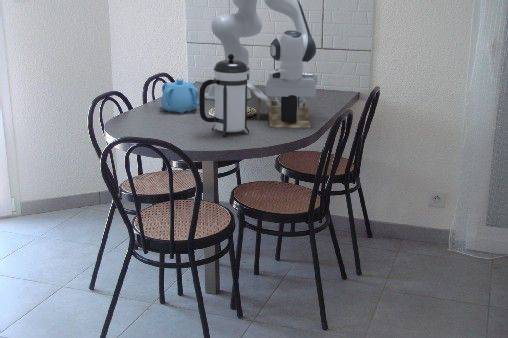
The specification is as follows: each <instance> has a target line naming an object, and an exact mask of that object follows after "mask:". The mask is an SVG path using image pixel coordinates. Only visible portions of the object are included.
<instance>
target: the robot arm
mask: <svg viewBox="0 0 508 338" xmlns="http://www.w3.org/2000/svg"><path fill="white" fill-rule="evenodd" d="M232 2H233V4H234V6H235V7H236V8H238V11H237V12H236V13H224V14H220V15H218V16H215V17H214V18H213V20H212V22H211V32H212V34H213V35H214V37H216V38H217V39H218V40H219V41H220V43H221V44H222V47H223V51H224V60H230V59H229V58H228V55H229V54H233V55H234V59H233V60H238V61H242V62H244V63H245V64H246V66H247V68H248V71H249V72H250V67H249V61H250V60H249V50H248V49H247V48H246V46H245V47H244V46H243V45H242V44H241V40H240V38H250V37H253V36H257V35H259V34H260V33H261V31H262V28H263V21H262V18H261V17H260V16H259V15H258V13H257V4H258V0H232ZM264 3H265V4H266V6H267V7H268V8H270V9H271V10H272V11H274V12H277V13H280V14H282V15H285V16H287V17H288V18H290V19H291V20H292V22H293V25H294V28H295V30H286V31H284V32H283V33H282V36H279V37H276V38H274V39H273V40H272V41H271V43H270V49H269V50H270V51H269V52H270V53H269V54H270V56H271V58H272V59H273V60H275V61H277V62H280V67H279V68H274V69H272V70H270V71H269V72H268V78H267V80H266V85H265V93H264V95H266V96H267V97H274V100H276V102H277V103H278V108H281V102H279V101H278V100H279V98H281V97H288V96H289V95H296V96H297V97H299V98H302V100H301V101H302V102H301V103H299V108H303V104H304V102H305V101H307V98H315V97H316V96H317V88H316V85H317V84H318V76H317V75H315V74H314V73H303V71H304V69H303V68H304V64H303V62H304V63H309V62H310V61H312V59H313V58H314V57H315V55H316V53H317V45H316V43H315V40H314V39H313V36H312V34H311V31H310V28H309V25H308V22H307V19H306V16H305V13H304V9H303V7H302V5H301V3H300V0H264ZM250 74H251V73H250ZM250 74H247V78H248V81H250ZM251 94H252V92H251V91H250V90H249V89H248V88H247V100H249V99H251V98H252V95H251ZM205 99H206V100H209V101H210V100H211V101H212V100H213V101H215V84H211V85H209V87H208V91H207V92H205Z"/></svg>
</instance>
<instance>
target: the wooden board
mask: <svg viewBox="0 0 508 338" xmlns="http://www.w3.org/2000/svg"><path fill="white" fill-rule="evenodd" d="M281 127H282V128H283V129H284V128H288V129H290V128H292V129H311V124H310V121H309V120H307V121H300V120H298V122H297V123H289V122H282V121H281V120H270V121H269V128H281Z"/></svg>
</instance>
